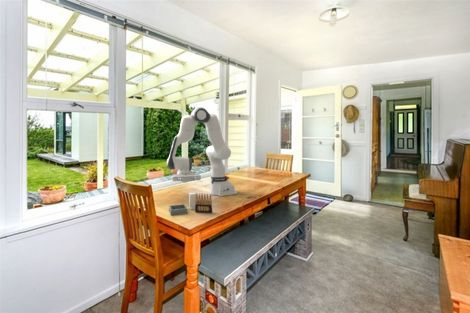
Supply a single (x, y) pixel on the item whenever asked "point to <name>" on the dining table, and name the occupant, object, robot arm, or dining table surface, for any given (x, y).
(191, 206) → the cream block
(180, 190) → the dining table surface
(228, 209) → the dining table surface
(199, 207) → the ammunition clip
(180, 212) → the box
